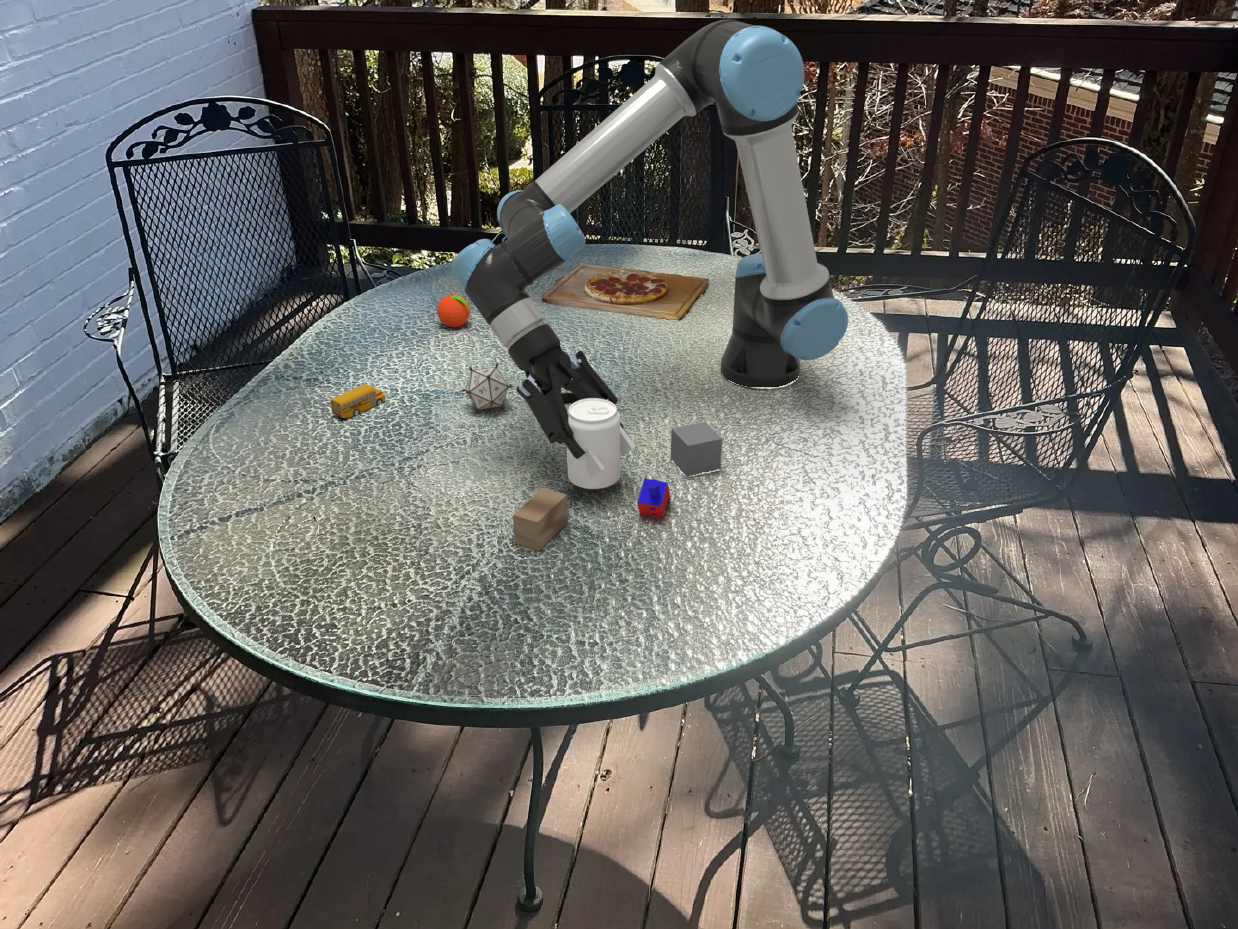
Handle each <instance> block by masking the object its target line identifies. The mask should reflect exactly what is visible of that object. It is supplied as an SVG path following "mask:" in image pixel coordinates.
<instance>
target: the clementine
mask: <svg viewBox="0 0 1238 929" xmlns="http://www.w3.org/2000/svg"><path fill="white" fill-rule="evenodd" d="M436 307H437V308H436V312H437V313H436V314H437V317H438V318H439V321H440V322H442V324H444V325H445V326H447V327H449V328H458V327H462V326H463V325H465V324H466V322H467V321H468V320H469V318H470V313H471V308H470V304H469V303H468V301H467V300H466V299H465V297H463V296H461V295H459V294H456V293H450V294H447V295H445V296H443V297H442V298H441V299H440V300H439V302H438V304H437V306H436Z"/></svg>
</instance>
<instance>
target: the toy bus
mask: <svg viewBox="0 0 1238 929" xmlns="http://www.w3.org/2000/svg"><path fill="white" fill-rule="evenodd" d="M385 401H386V395H385V393H383V390H381V389H379V388H375V387H374V386H372V385H370V384H366V383H364V384H363V385H360V386H358V387H355V388H353V389H351V390H349V391H346V392H345V393H342V394H340V395H338V396H335V397H332V398H331V399H330V401H329V403H330V408H331V409H330V410H331V413H333V414H334V415H335V416H338V417H340V418H342V419H346V418H347V419H348V418H351V417H357V416H358V414H359V415H360V414H361V413H363V412H365V411H367V410H369V409H372V408H374V407H375V406H377V405H378V406H380V405H382V404H383V403H385ZM356 415H357V416H356Z"/></svg>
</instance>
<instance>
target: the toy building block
mask: <svg viewBox="0 0 1238 929" xmlns="http://www.w3.org/2000/svg"><path fill="white" fill-rule="evenodd" d="M641 485H642V486H641V489H640V490H639V491H640V492H639V495H638V499H637V502H636V503H637V508H638V512H639V515H642V516H648V517H654V518H659V519H664V518H665V517H664V516H665V513H666V510H667V507H668V506H667V505H668V504H671V495H670V488H669V482H668V481H662V480H657V479H655V478H651V479H649V478H643V482H642V484H641Z"/></svg>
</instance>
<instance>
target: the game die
mask: <svg viewBox="0 0 1238 929" xmlns="http://www.w3.org/2000/svg"><path fill="white" fill-rule="evenodd" d="M499 364H500V363H499V362H496V364H495V366H494V367H493V366H492V367H485V368H478V369H473V368H472V366H468V370H469V371H470V374H469V377H468V380H467V384H466V386H465V388H462V389H461V390H460V391H461V392H462V393H465V394H466V395H467V396H468V397H469V399H470V400H471V402H472V404H473V405H474V407H475V412H474V413H475V415H477V414H478V413H479V410H481V411H482V410H487V409H494V408H501V409H502V410H505V409H506V408H505V406H504V405H503V404H504V401H505V398H506V396H507V393H508V390H509V389H512V388H513V387H514V385H512V384H508V382H507V381H506V380H505V378H504V377H503V375H502V373H501V371H500V370H499V368H498V367H499Z"/></svg>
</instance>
